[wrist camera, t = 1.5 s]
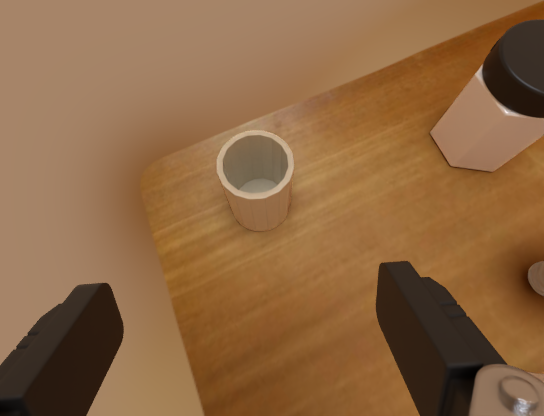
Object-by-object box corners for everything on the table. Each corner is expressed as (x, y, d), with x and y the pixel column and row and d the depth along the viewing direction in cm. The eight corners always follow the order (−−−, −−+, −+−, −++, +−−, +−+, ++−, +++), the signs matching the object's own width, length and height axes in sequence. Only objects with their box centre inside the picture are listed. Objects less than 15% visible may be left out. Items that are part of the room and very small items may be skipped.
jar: (507, 114, 38) (604, 23, 27) (513, 176, 35) (624, 105, 24) (429, 104, 39) (491, 12, 27) (429, 165, 36) (498, 90, 25)
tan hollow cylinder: (232, 233, 34) (216, 201, 25) (230, 178, 36) (216, 132, 27) (292, 229, 34) (297, 196, 25) (287, 175, 36) (290, 127, 27)
